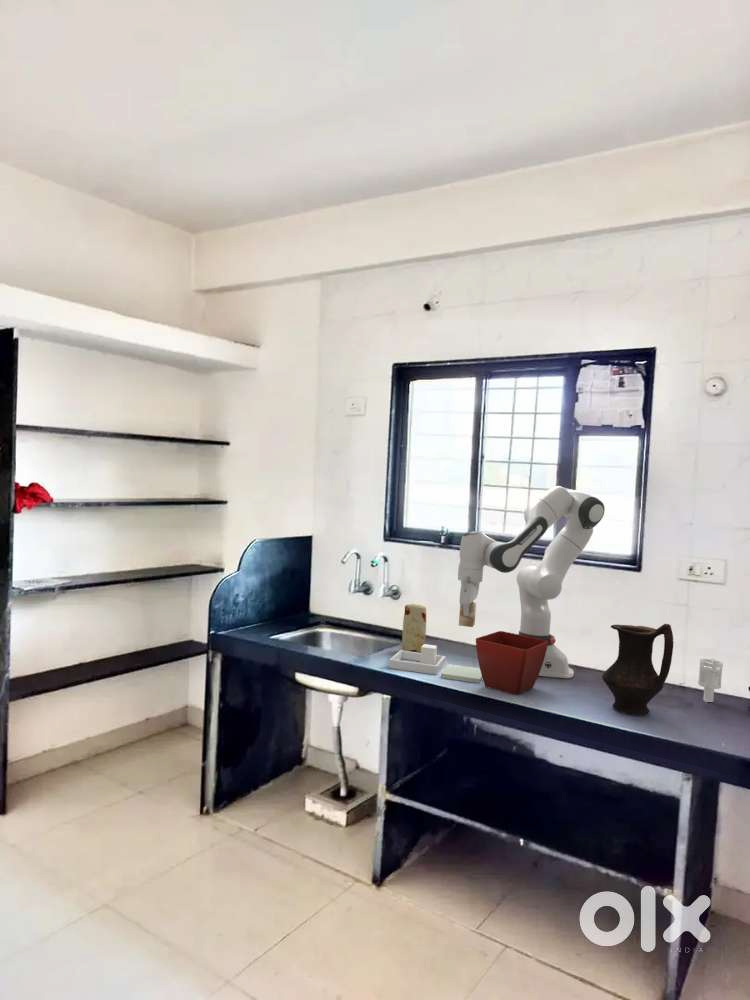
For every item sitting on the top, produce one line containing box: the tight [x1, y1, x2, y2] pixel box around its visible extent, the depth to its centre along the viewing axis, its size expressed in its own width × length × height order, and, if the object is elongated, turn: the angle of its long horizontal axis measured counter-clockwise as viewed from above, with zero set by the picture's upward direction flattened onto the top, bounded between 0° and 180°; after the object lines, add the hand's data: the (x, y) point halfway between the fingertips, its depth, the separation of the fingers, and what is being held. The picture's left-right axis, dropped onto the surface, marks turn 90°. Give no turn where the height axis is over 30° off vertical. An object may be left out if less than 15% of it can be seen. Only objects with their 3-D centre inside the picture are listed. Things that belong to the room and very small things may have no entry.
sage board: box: [440, 663, 483, 684], centre depth 249 cm, size 14×14×2 cm
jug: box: [601, 623, 674, 716], centre depth 219 cm, size 21×18×30 cm
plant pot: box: [475, 630, 548, 696], centre depth 237 cm, size 19×19×17 cm
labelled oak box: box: [458, 601, 477, 628], centre depth 249 cm, size 5×5×8 cm
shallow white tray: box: [388, 649, 447, 676], centre depth 258 cm, size 18×16×3 cm
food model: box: [401, 603, 427, 653], centre depth 277 cm, size 10×7×20 cm
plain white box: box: [419, 643, 438, 665], centre depth 257 cm, size 5×5×8 cm
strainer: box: [697, 658, 724, 703], centre depth 236 cm, size 7×7×15 cm
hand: (467, 613), depth 249 cm, fingers closed on labelled oak box, 5 cm apart
